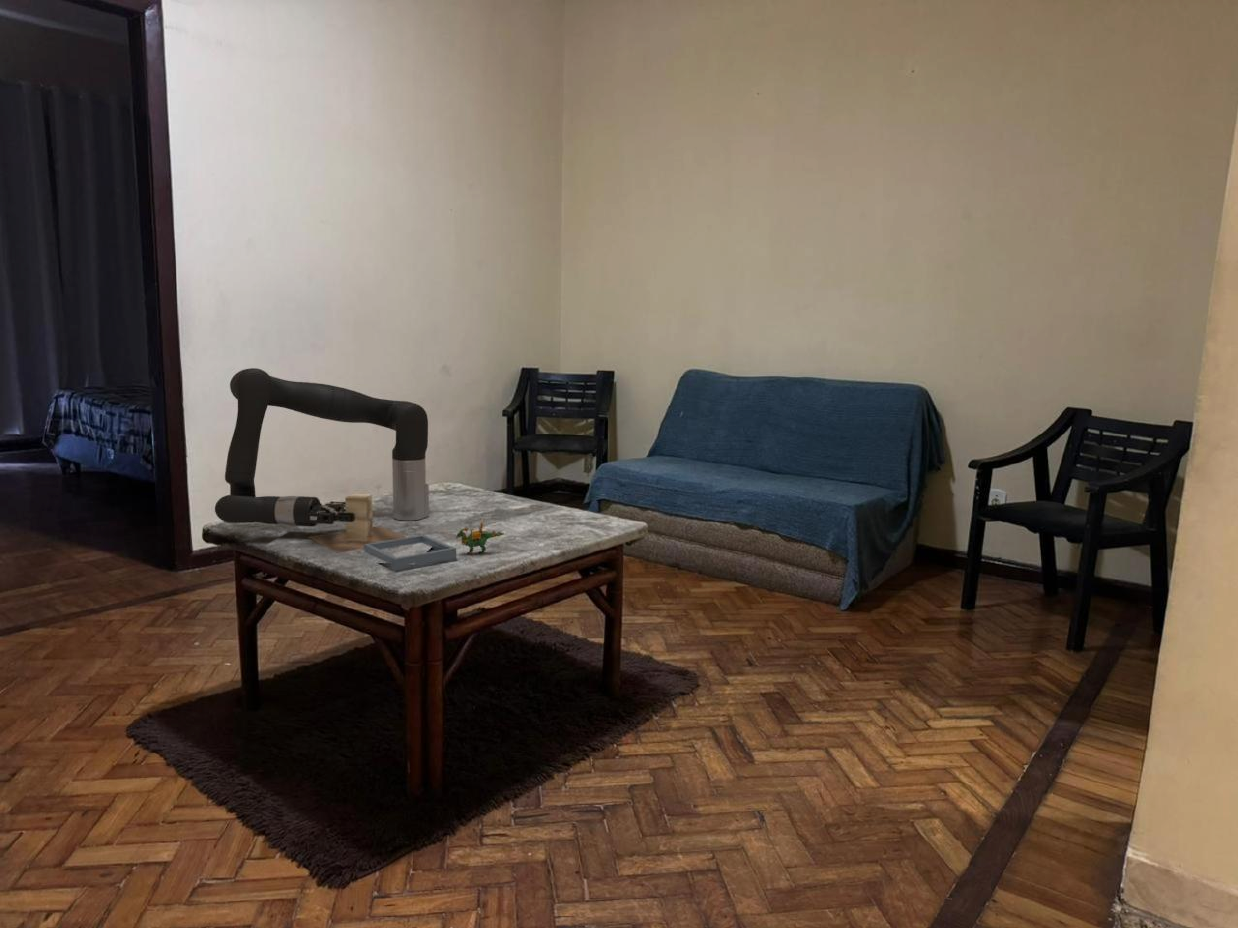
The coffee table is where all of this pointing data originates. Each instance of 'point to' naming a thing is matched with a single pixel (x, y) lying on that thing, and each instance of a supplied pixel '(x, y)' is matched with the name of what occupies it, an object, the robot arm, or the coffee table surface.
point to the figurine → (476, 538)
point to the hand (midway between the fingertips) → (360, 513)
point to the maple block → (359, 517)
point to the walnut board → (340, 544)
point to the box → (431, 557)
